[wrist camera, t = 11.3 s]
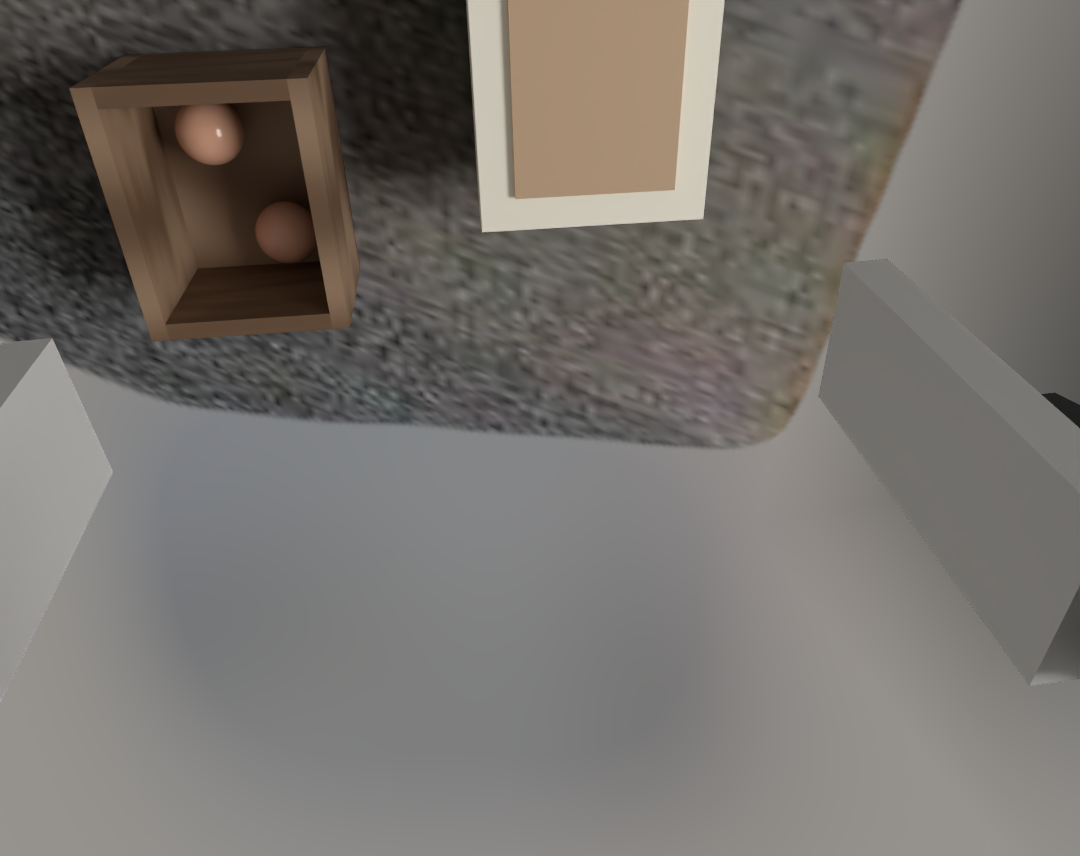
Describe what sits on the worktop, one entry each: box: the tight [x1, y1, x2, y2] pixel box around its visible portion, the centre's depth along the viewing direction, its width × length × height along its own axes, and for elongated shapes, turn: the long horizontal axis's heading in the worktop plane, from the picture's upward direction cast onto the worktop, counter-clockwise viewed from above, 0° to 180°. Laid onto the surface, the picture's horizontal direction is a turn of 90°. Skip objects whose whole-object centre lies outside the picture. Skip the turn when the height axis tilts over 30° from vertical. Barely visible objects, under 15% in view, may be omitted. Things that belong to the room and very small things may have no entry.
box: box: [69, 47, 360, 341], centre depth 37 cm, size 11×9×7 cm
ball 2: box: [255, 201, 317, 263], centre depth 40 cm, size 3×3×3 cm
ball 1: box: [174, 103, 245, 165], centre depth 37 cm, size 3×3×3 cm
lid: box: [466, 0, 724, 232], centre depth 34 cm, size 12×10×3 cm
